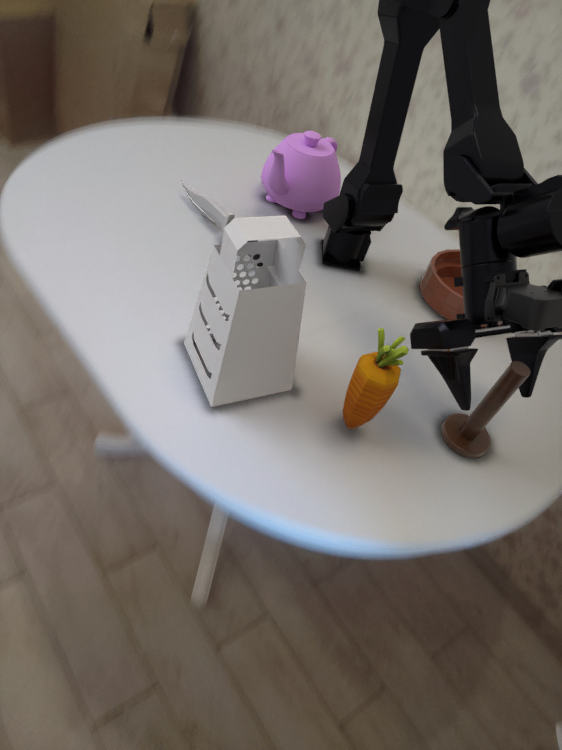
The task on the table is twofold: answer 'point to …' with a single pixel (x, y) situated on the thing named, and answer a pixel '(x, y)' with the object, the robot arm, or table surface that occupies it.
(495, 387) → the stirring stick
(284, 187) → the teapot
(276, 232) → the grater
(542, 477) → the table surface
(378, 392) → the carrot
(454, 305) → the bowl
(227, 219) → the knife
